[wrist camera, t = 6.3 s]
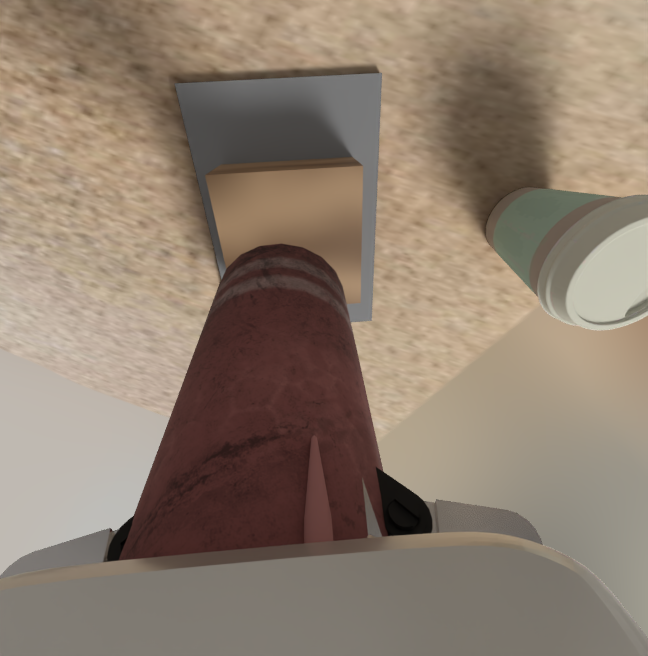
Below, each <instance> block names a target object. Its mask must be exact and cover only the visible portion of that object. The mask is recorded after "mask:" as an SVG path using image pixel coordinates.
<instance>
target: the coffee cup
mask: <svg viewBox="0 0 648 656" xmlns="http://www.w3.org/2000/svg"><path fill="white" fill-rule="evenodd" d="M486 238H487V241H488V243H489V244H490V246H491V247H492V248H493V249H494V250H495V251H496V252H497V254H498V255H499V256H500V257H501V258H502V259H503V260H504V261H505V262H506V263H507V264H508V265H509V267H510V268H511V269H512V270H513V271H514V272H515V273H516V274H517V275H518V276H519V277H520V278H521V279H522V280H523V282H524V283H525V284H526V285H527V286H528V287H529V288H530V289H531V290H532V291H533V292H534V293H535V294H536V295H537V296H538V298H539V301H540V304H541V306H542V307H543V309H544V310H545V311H546V312H547V313H548V314H549V315H550V316H552V317H554V318H556V319H558V320H560V321H562V322H564V323H567V324H570V325H575V326H580V327H583V328H586V329H590V330H609V329H614V328H619V327H622V326H626V325H629V324H631V323H633V322H636V321H638V320H640V319H642V318H644V317H646V316H647V315H648V195H633V196H628V197H623V198H621V197H613V196H605V195H596V194H587V193H579V192H570V191H561V190H553V189H543V188H533V187H526V188H521V189H518V190H516V191H513V192H511V193H510V194H508V195H507V196H505V197H504V198H503V199H502V200H501V201H500V202H499V203H498V204H497V205H496V206H495V207H494V209H493V210H492V212H491V214H490V216H489V218H488V221H487V224H486Z"/></svg>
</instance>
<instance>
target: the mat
mask: <svg viewBox="0 0 648 656" xmlns="http://www.w3.org/2000/svg"><path fill="white" fill-rule="evenodd" d="M381 84H382V73H370V74H351V75H331V76H312V77H292V78H272V79H253V80H233V81H214V82H194V83H175V87H176V92H177V96H178V100H179V104H180V108H181V113H182V117H183V121H184V125H185V129H186V133H187V138H188V142H189V146H190V150H191V154H192V159H193V163H194V167H195V171H196V175H197V179H198V184H199V188H200V192H201V196H202V200H203V204H204V209H205V213H206V217H207V221H208V225H209V230H210V234H211V238H212V242H213V246H214V250H215V255H216V259H217V263H218V267H219V271H220V276H221V280H222V278H223V275H224V273H225V271H226V266H225V261H224V257H223V252H222V248H221V243H220V239H219V235H218V230H217V226H216V221H215V217H214V212H213V208H212V204H211V199H210V195H209V190H208V186H207V181H206V177H205V175H206V174H208V173H209V172H211V171H212V170H214V169H215V168H217V167H218V166H220V165H222V164H239V163H256V162H273V161H291V160H308V159H325V158H342V157H353V158H354V159H356V160H357V161H358V162H359V163H360V164H362V165H363V200H362V252H361V303H355V304H347V308H348V313H349V317H350V322H360V321H372V298H373V274H374V250H375V226H376V203H377V179H378V155H379V131H380V108H381Z"/></svg>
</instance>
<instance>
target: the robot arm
mask: <svg viewBox="0 0 648 656" xmlns="http://www.w3.org/2000/svg"><path fill="white" fill-rule="evenodd" d="M376 472H377V477H378V483H379V488H380V494H381V499H382V509H383V515H384V522H385V528H386V530H387V532H388V536H386V537H382V535H381V532H380V529H379V526H378V523H377V520H376V517H375V514H374V511H373V508H372V505H371V502H370V499H369V496H368V493H367V490H366V487H365V484H364V481H363V478H362V482H363V491H364V501H365V510H366V520H367V529H368V536H367V538H362V539H350V540H339V541H327V542H315V543H304V544H293V545H281V546H270V547H259V548H248V549H237V550H226V551H215V552H204V553H194V554H183V555H173V556H162V557H152V558H142V559H131V560H121V561H119V558H120V555H121V552H122V549H123V547H124V545H125V542H126V540H127V537H128V535H129V532H130V529H131V526H132V524H133V523H132V522H133V519H134V516H135V515H134V516H133V517H132V518H130V519H129V520H128V521H127V522H126V523H125V524H124V525H123V526H121V527H120V529H119V530H115V531H112V529H111V528H109V529H106V530H102V531H99V532H96V533H93V534H89V535H86V536H83V537H80V538H77V539H74V540H70V541H67V542H64V543H61V544H58V545H54V546H51V547H48V548H44V549H42V550H38V551H35V552H32V553H30V554H28V555H25V556H23V557H21V558H20V559H18V560H17V561H16V562H14V563H13V564H12V565H10V566H9V567H8V568H7V569H6V570H5V571H4V572H3V574H2V575H1V576H0V656H648V638H647V636H646V635H645V634H644V632H643V631H642V630H641V628H640V627H639V626H638V624H637V623H636V622H635V620H634V619H633V618H632V616H631V615H630V614H629V612H628V611H627V610H626V609H625V607H624V606H623V605H622V604H621V602H620V601H619V600H618V598H616V596H615V595H614V594H613V593H612V592H611V591H610V589H609V588H608V587H607V586H606V585H605V584H604V583H603V582H602V581H601V580H600V579H599V578H598V577H597V576H596V575H595V574H594V573H592V572H591V571H590V570H589V569H588V568H587V567H585V566H584V565H582V564H581V563H579V562H578V561H576V560H574V559H573V558H571V557H569V556H567V555H565V554H563V553H561V552H559V551H557V550H554V549H552V548H550V547H547V546H544V545H543V544H542V541H541V538H540V536H539V535H538V533H537V531H536V529H535V528H534V527H533V526H532V524H531V523H530V522H529V521H528V520H527V519H525V518H524V517H522V516H521V515H519V514H518V513H515V512H512V511H509V510H504V509H497V508H490V507H484V506H477V505H470V504H463V503H457V502H450V501H443V500H437V499H436V501H435V503H433V502H426V501H423V500H422V499H421V498H420V497H419V496H417V495H416V494H414V493H413V492H412V491H410V490H409V489H407V488H406V487H405V486H403V485H402V484H400V483H399V482H397V481H396V480H394V479H393V478H392V477H390V476H389V475H387V474H386V473H384V472H383V471H381V470H380V469H378V468H377V467H376Z"/></svg>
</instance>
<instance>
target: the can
mask: <svg viewBox="0 0 648 656" xmlns="http://www.w3.org/2000/svg"><path fill="white" fill-rule="evenodd" d="M376 467H377V468H378V469H380V470H381V471H383V468H382V463H381V459H380V454H379V450H378V445H377V441H376V436H375V431H374V427H373V422H372V418H371V413H370V409H369V404H368V399H367V395H366V390H365V386H364V381H363V377H362V372H361V367H360V363H359V358H358V354H357V349H356V345H355V340H354V335H353V331H352V326H351V322H350V317H349V313H348V308H347V303H346V299H345V294H344V290H343V286H342V284H341V282H340V280H339V277H338V275H337V273H336V271H335V270H334V269H333V268H332V267H331V266H330V265H329V264H328V263H327V262H326V261H325V260H324V259H323V258H322V257H321V256H319V255H317V254H315V253H313V252H311V251H309V250H307V249H305V248H303V247H299V246H293V245H287V244H282V243H281V244H272V245H264V246H258V247H256V248H254V249H252V250H250V251H248V252H245V253H243V254H241V255H240V256H239V257H238V258H237V259H236V260H235V261H234V262H233V263H232V264H231V265H230V266H228V267H227V269H226V271H225V273H224V275H223V278H222V280H221V282H220V284H219V287H218V290H217V292H216V295H215V298H214V300H213V303H212V306H211V309H210V311H209V314H208V317H207V319H206V322H205V325H204V327H203V330H202V333H201V336H200V338H199V341H198V344H197V346H196V349H195V352H194V355H193V357H192V360H191V363H190V365H189V368H188V371H187V373H186V376H185V379H184V382H183V384H182V387H181V390H180V392H179V395H178V398H177V400H176V403H175V406H174V409H173V411H172V414H171V417H170V420H169V422H168V425H167V427H166V430H165V433H164V436H163V438H162V441H161V444H160V446H159V449H158V452H157V455H156V457H155V460H154V463H153V466H152V468H151V471H150V474H149V476H148V479H147V481H146V484H145V487H144V490H143V493H142V495H141V498H140V501H139V503H138V506H137V509H136V511H135V514H134V515H135V516H134V519H133V522H132V523H133V524H132V526H131V529H130V532H129V535H128V537H127V540H126V542H125V545H124V547H123V549H122V552H121V555H120V558H119V561H121V560H131V559H142V558H152V557H162V556H173V555H183V554H194V553H204V552H215V551H226V550H237V549H248V548H259V547H270V546H281V545H293V544H304V543H315V542H327V541H339V540H350V539H362V538H367V536H368V529H367V520H366V510H365V501H364V491H363V482H362V478H363V481H364V484H365V487H366V490H367V493H368V496H369V499H370V502H371V505H372V508H373V511H374V514H375V517H376V520H377V523H378V526H379V529H380V532H381V535H382V537H386V536H388V532H387V530H386V528H385V522H384V515H383V509H382V499H381V494H380V488H379V483H378V477H377V472H376Z"/></svg>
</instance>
